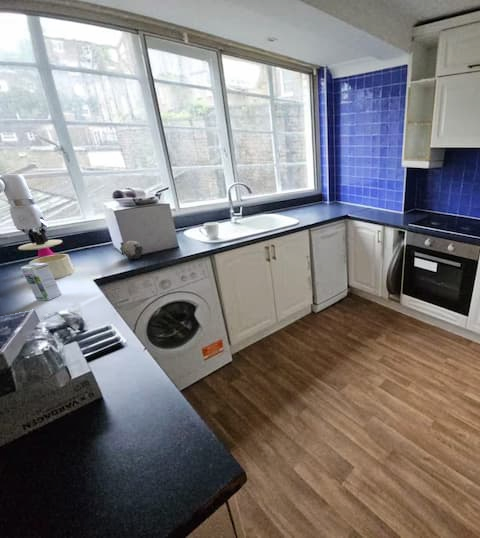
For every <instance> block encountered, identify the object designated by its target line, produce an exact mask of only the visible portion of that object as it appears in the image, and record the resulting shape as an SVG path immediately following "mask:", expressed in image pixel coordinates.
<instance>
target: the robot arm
mask: <svg viewBox="0 0 480 538" xmlns="http://www.w3.org/2000/svg"><path fill="white" fill-rule="evenodd" d="M3 192H4V195H5V197H6V199H7V204H8V205H10V206H9V213H10V216H11V220H12V222H13V225H14V226H15V229H16V230H18V231H20V232H23V233H24V234H25V235H26V236H28V238H29V241H30V243H32V244H34V243H35V241H34V239H33V236H32V234H31V232H33V231H34V230H36V231H37V233H38V234H39V235H37V236H38V238H39V241H40V243H45V242H48V240H49V239H48V237H47V235H46V233H47V231H48V230H49V229H50V228H51V226H50V225H49V224H48V223H47V220H46V218H45V216H44V213H43V212H42V210H41V208H40V207H39V206H38V204H36V202H35V200H34V198H33V195H32V193H31V191H30V188H29V186H28V184H27V181H26V179H25V177H24V176H23V175H22V174H20V173H3V174H0V194H1V193H3Z"/></svg>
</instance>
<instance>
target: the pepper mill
mask: <svg viewBox="0 0 480 538" xmlns="http://www.w3.org/2000/svg"><path fill="white" fill-rule="evenodd" d="M33 231H36V230H35V229H33ZM37 251H38V255H37V258H41V257H45V256H50V255H56V253H55V252H53V251H52V250H51V249H50V247H48V248H42V249H37Z"/></svg>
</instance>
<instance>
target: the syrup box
mask: <svg viewBox="0 0 480 538" xmlns="http://www.w3.org/2000/svg"><path fill="white" fill-rule="evenodd" d="M20 270H21V272H22V275H23V276H24V278H25V280H26V282H27V284H28V285H29V288H30V290H31V293H32V294H33V296H34V298H35V300H36V301H45V302H48V301H50V300H53V299H54V298H58V297H60V296H62V295H63V294H62V292H61V290H60V287H59V286H58V283H57V281H56V279H54V277H53V275H52V272H51V270H50V268H49V266H48V264H47V263H34V264H26V265H24V266H21V267H20Z"/></svg>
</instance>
